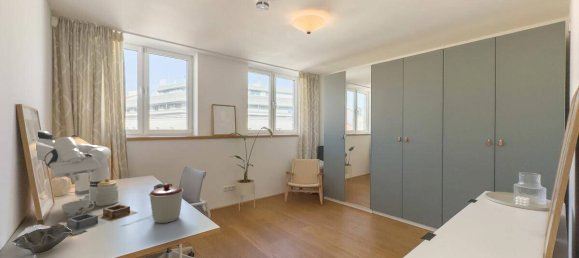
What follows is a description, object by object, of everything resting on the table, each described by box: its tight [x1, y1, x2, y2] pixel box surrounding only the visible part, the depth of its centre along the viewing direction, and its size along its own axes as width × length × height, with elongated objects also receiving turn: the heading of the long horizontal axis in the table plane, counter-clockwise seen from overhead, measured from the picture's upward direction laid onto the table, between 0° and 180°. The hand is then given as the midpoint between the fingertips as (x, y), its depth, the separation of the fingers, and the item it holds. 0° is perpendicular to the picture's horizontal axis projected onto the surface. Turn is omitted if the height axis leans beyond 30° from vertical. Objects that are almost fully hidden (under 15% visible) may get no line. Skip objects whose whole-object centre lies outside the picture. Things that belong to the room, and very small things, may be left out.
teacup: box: [61, 199, 95, 218], centre depth 145 cm, size 15×12×8 cm
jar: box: [95, 178, 120, 207], centre depth 168 cm, size 13×13×18 cm
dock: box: [63, 212, 108, 236], centre depth 129 cm, size 18×15×5 cm
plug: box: [74, 173, 90, 198], centre depth 129 cm, size 5×4×12 cm
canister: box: [148, 183, 185, 224], centre depth 138 cm, size 18×18×21 cm
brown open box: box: [96, 203, 139, 222], centre depth 145 cm, size 18×15×5 cm
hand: (82, 179), depth 129 cm, fingers closed on plug, 4 cm apart
